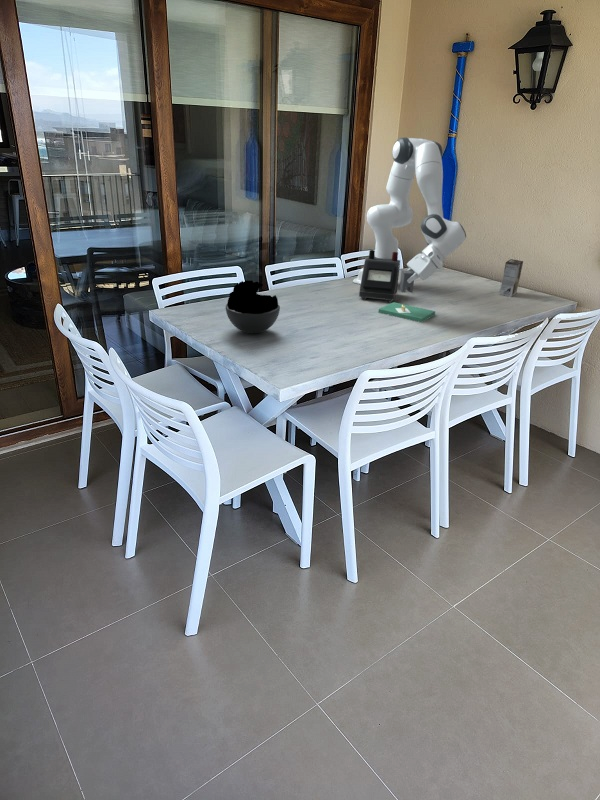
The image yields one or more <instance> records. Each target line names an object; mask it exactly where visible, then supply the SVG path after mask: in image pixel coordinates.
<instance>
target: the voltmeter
mask: <svg viewBox="0 0 600 800" xmlns="http://www.w3.org/2000/svg"><path fill="white" fill-rule="evenodd" d="M368 252H369V254H368V257H367V256H366V257H365V258H364V263H363V267H364V268H363V267H362V268H363V273H362V279H361V284H359V285H360V286H359V293H358V297H359V298H361V300H364V299H365V300H367V298H369V299H370V298H371V299H378V300H379V299H380V300H386V302H387V301H388V303H393V301H395V298H396V295H397V291H398V284H399V276H400V275H399V274H400V266H401V259H400V260H399V259H398V260H397V258H399V252H393V255H392V260H391V259H379V258H374V255H375V249H369V251H368Z"/></svg>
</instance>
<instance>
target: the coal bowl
mask: <svg viewBox="0 0 600 800" xmlns="http://www.w3.org/2000/svg"><path fill="white" fill-rule="evenodd" d="M263 286H264V284H263V283H260V282H259V281H253V279H252V280H248V279H247V280H244V281H243V280H241V281H239V282H238V283H237V284H235V285H233V289H232V291H231V292H230V293H229V296H228V299H227V303H226V305H225V311H226V316H227V318H228V319H229V321H230V323H231V324H232V325H233V326H234V327H235V328H236V329H238V330H239V331H242V332H244V333H248V334H258V333H259V334H260V333H262V332H265V331H267V330H269V329H270V328H271V327H272V326H273V325H274V324H275V323H276V322H277V319H278V318H279V315H280V312H281V311H280V308H281V307H280V305H279V301H278V297H277V295H275V294H274V295H273V296H272V295H269V294H263V295H262V294H258V291H259V289H260V288H261V287H263Z"/></svg>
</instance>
